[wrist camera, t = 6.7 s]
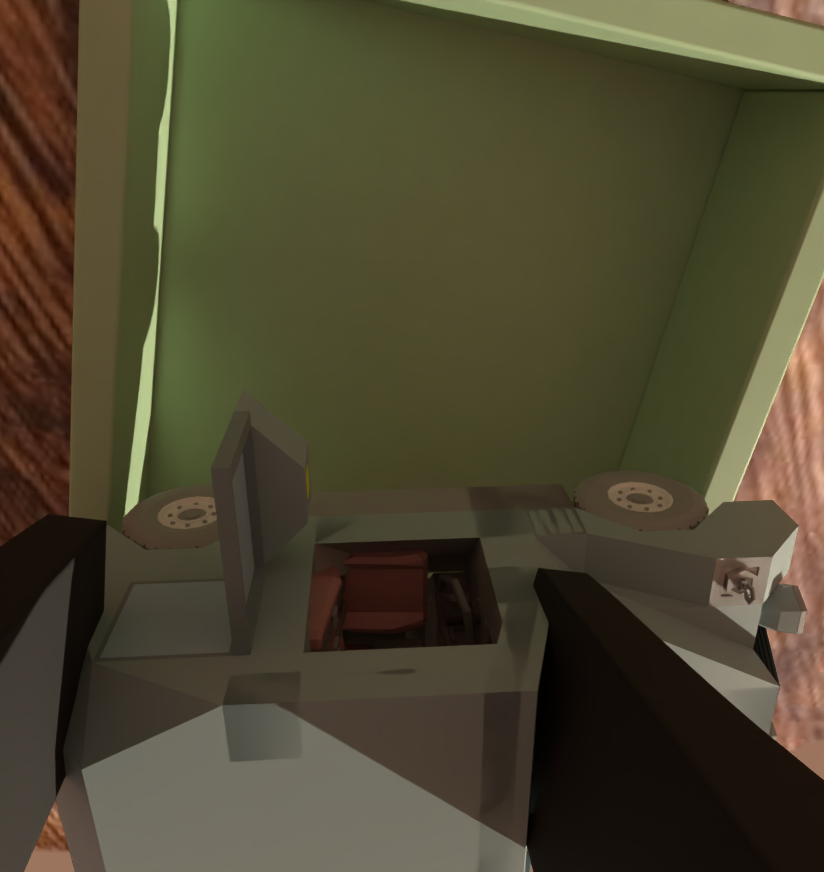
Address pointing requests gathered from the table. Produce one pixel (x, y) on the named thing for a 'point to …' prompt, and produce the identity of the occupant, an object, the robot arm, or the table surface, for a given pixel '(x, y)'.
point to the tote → (439, 238)
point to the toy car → (375, 657)
